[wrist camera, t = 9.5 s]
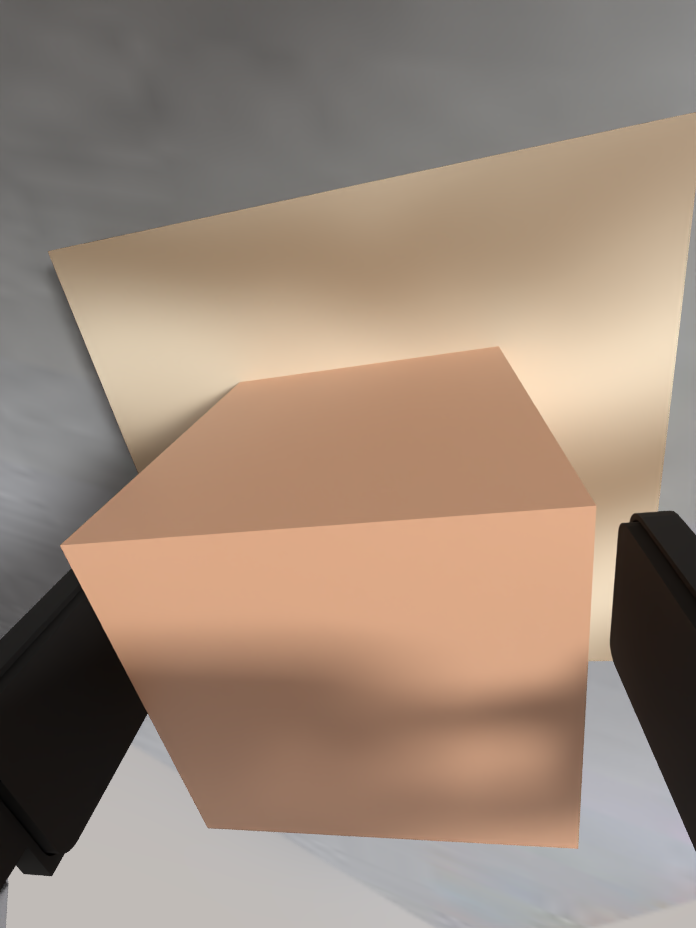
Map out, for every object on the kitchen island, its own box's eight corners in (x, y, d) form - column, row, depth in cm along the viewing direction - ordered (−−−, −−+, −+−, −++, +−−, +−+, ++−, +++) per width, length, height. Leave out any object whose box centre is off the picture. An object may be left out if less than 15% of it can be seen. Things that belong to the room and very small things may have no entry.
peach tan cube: (239, 382, 12) (59, 545, 6) (498, 346, 11) (595, 504, 5) (294, 578, 15) (207, 828, 9) (507, 567, 14) (578, 848, 8)
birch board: (79, 248, 13) (47, 251, 12) (674, 121, 10) (704, 110, 9) (228, 641, 19) (217, 666, 17) (625, 630, 16) (640, 660, 15)
